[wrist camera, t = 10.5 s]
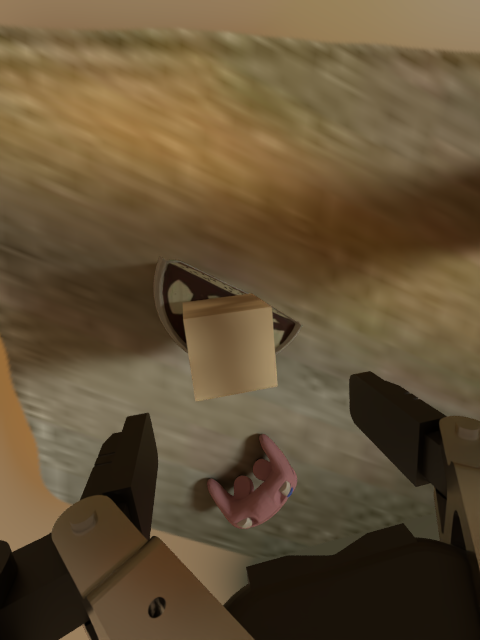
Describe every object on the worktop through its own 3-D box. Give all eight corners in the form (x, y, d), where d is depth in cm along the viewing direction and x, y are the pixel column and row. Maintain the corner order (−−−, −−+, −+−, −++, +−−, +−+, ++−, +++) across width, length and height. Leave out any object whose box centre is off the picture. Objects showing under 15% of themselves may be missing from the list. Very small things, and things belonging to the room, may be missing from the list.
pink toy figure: (220, 487, 39) (245, 544, 34) (201, 481, 36) (225, 544, 31) (277, 438, 39) (310, 488, 34) (262, 428, 36) (297, 482, 31)
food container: (140, 308, 30) (122, 337, 21) (165, 253, 29) (157, 256, 20) (246, 353, 33) (272, 395, 24) (271, 304, 33) (308, 328, 23)
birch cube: (251, 293, 22) (271, 306, 17) (257, 357, 23) (277, 386, 18) (182, 302, 21) (183, 319, 16) (192, 368, 22) (195, 401, 17)
